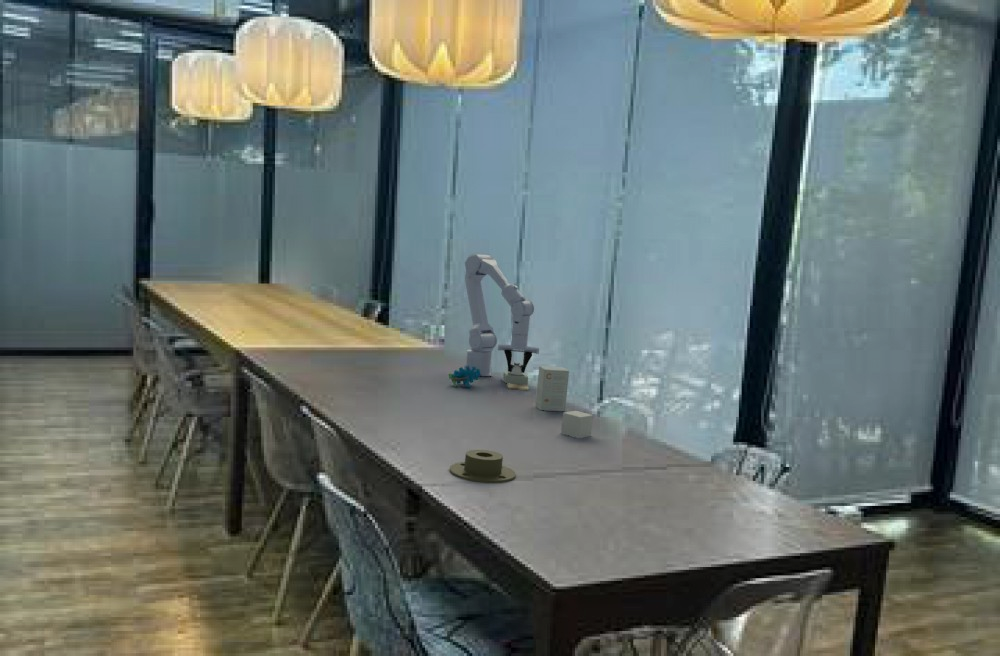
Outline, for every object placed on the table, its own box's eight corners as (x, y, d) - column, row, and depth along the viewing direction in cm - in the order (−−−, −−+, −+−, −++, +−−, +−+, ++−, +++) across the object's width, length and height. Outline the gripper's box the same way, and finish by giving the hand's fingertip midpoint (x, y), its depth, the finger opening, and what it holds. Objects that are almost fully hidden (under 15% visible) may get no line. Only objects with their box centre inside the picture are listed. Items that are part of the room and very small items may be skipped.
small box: (558, 407, 289) (563, 366, 287) (565, 411, 283) (569, 370, 281) (534, 406, 287) (538, 365, 285) (540, 410, 280) (544, 369, 279)
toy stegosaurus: (478, 379, 314) (481, 363, 306) (481, 394, 310) (484, 377, 303) (446, 382, 312) (449, 365, 304) (449, 396, 308) (452, 380, 300)
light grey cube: (578, 438, 249) (580, 417, 248) (560, 433, 253) (563, 412, 252) (590, 436, 254) (593, 415, 253) (573, 431, 257) (575, 410, 257)
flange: (480, 442, 216) (437, 451, 204) (530, 458, 207) (488, 467, 195) (479, 462, 217) (435, 471, 205) (528, 478, 207) (486, 488, 196)
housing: (504, 383, 320) (505, 375, 320) (502, 379, 328) (503, 371, 328) (527, 385, 321) (528, 377, 320) (524, 381, 329) (525, 373, 328)
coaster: (508, 388, 311) (508, 387, 311) (506, 384, 318) (506, 383, 318) (528, 390, 312) (528, 388, 312) (526, 386, 319) (526, 384, 319)
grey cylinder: (509, 383, 322) (511, 363, 321) (508, 381, 326) (510, 361, 326) (521, 384, 322) (523, 364, 322) (520, 382, 327) (522, 362, 326)
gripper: (500, 333, 318) (496, 372, 319) (541, 337, 319) (537, 375, 321) (499, 331, 325) (495, 368, 326) (539, 334, 326) (535, 372, 328)
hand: (516, 371), depth 324 cm, fingers closed on grey cylinder, 4 cm apart
